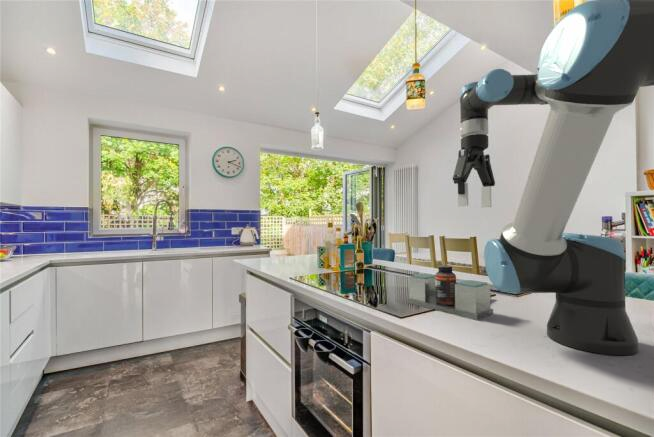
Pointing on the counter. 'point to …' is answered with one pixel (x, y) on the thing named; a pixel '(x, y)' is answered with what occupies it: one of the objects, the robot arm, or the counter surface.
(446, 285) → the supplement bottle
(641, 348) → the counter surface
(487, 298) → the rail
